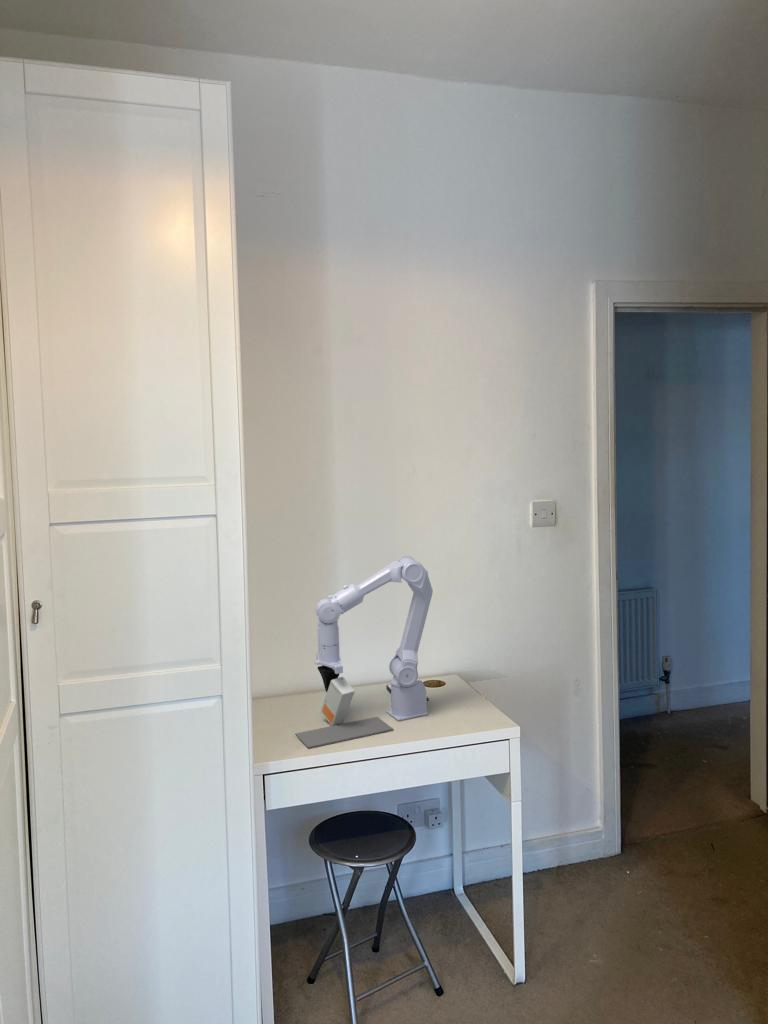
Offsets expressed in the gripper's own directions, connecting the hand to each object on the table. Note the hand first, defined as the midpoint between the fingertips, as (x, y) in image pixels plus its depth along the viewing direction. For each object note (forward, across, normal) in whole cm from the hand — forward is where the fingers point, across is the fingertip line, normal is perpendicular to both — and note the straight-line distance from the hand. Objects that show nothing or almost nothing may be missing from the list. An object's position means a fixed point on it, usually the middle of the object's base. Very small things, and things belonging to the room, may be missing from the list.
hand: (330, 692), depth 213 cm
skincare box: (+7, 0, 0) cm, 7 cm away
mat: (+8, +9, 0) cm, 12 cm away
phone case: (+9, -9, +28) cm, 31 cm away
